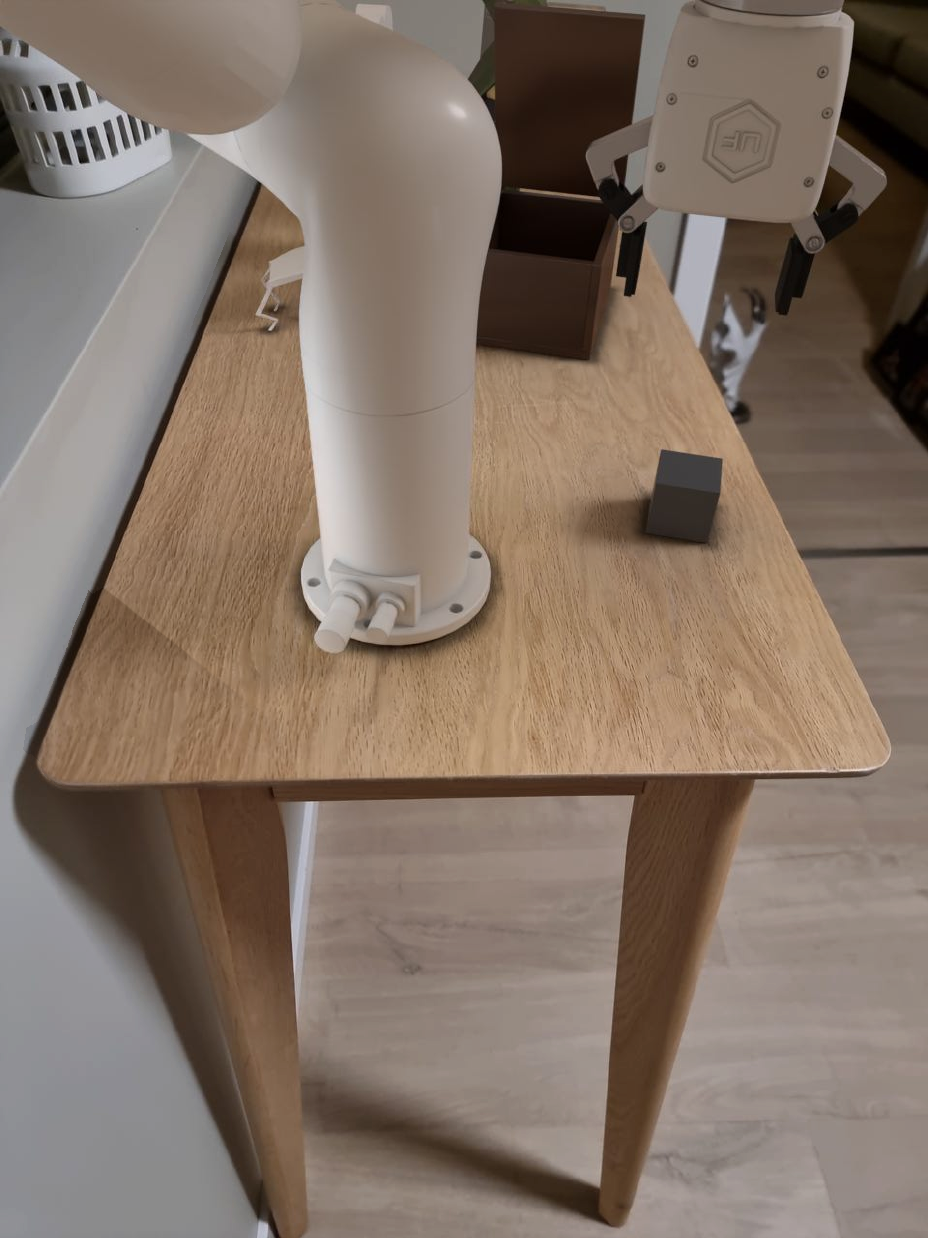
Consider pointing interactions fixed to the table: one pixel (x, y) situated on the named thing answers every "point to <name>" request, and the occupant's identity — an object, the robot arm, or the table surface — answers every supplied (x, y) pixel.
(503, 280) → the chest
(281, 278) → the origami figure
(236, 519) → the table surface
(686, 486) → the block
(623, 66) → the lid
